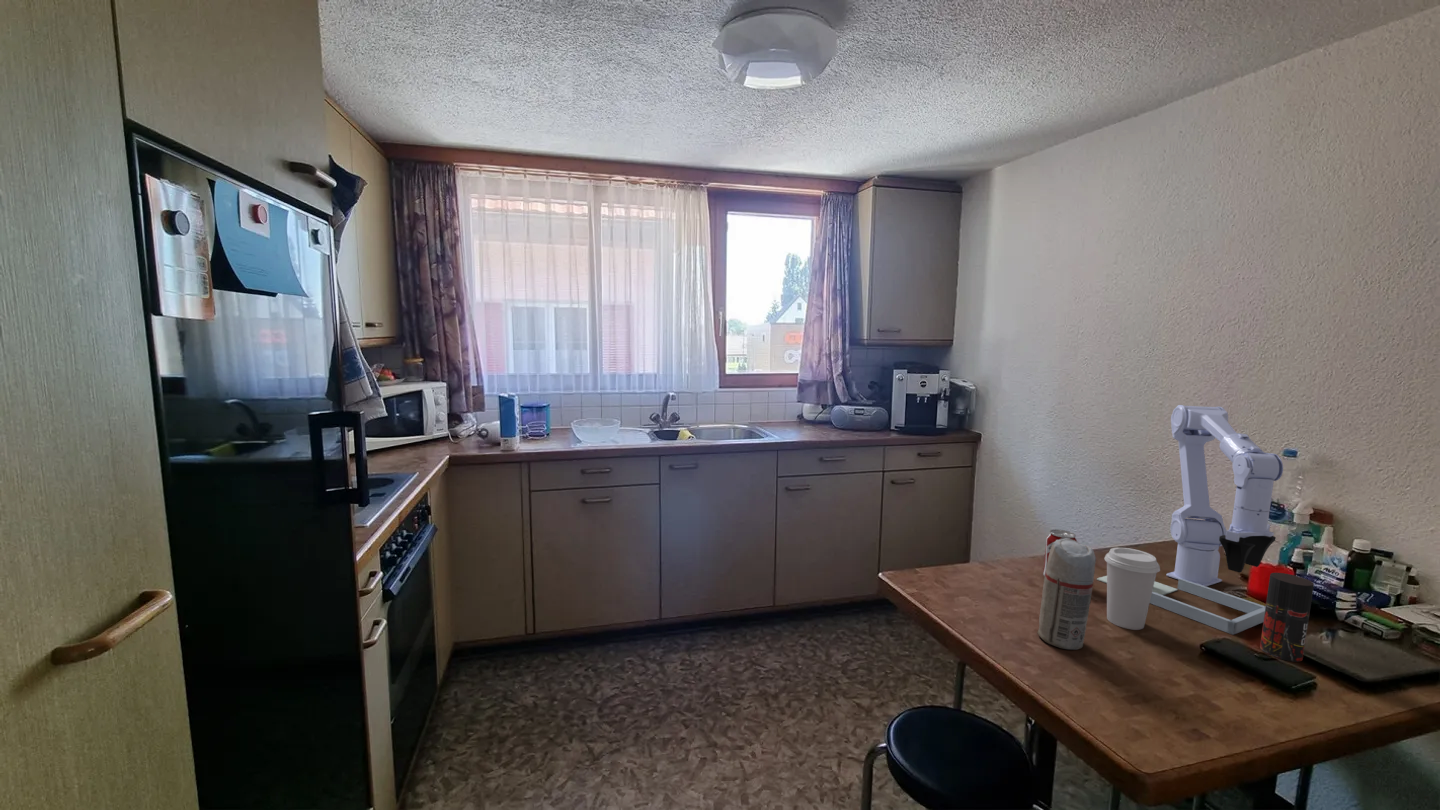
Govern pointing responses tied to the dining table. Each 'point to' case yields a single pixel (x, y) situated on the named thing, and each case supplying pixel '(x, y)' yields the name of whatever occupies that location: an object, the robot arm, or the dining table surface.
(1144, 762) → the dining table surface
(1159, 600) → the frame
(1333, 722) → the dining table surface
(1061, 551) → the spray can
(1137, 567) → the coffee cup
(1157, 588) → the pad
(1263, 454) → the robot arm
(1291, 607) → the deodorant
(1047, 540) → the soda can
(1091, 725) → the dining table surface
